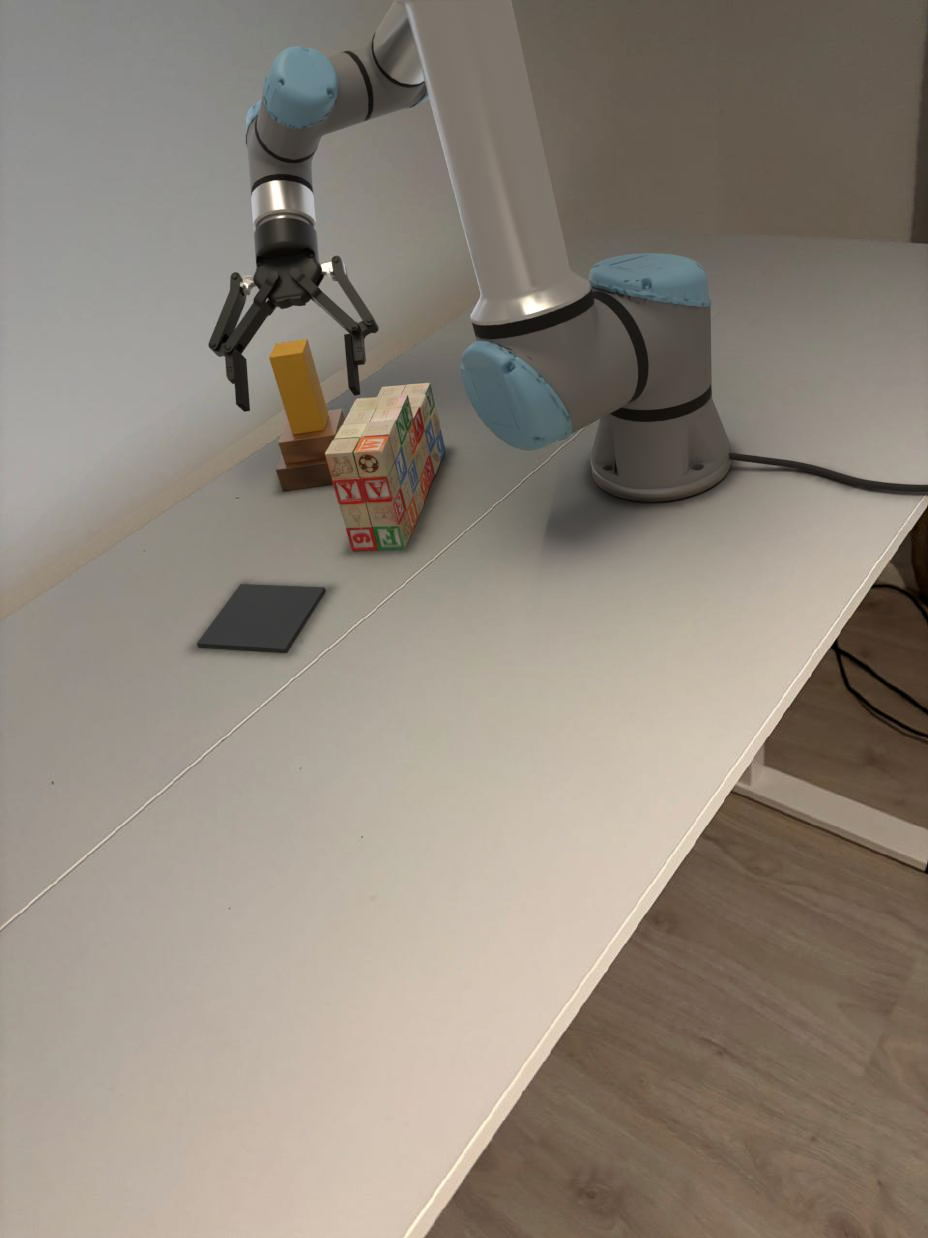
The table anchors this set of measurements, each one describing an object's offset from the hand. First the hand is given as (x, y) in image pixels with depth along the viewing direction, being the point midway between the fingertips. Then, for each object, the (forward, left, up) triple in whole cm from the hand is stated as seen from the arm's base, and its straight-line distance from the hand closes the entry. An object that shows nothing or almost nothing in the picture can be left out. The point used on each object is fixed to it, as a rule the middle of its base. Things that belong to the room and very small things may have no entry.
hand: (298, 399), depth 121 cm
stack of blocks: (-13, +5, -11) cm, 17 cm away
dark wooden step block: (0, -2, -10) cm, 11 cm away
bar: (0, -2, -4) cm, 5 cm away
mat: (-6, +28, -10) cm, 30 cm away
